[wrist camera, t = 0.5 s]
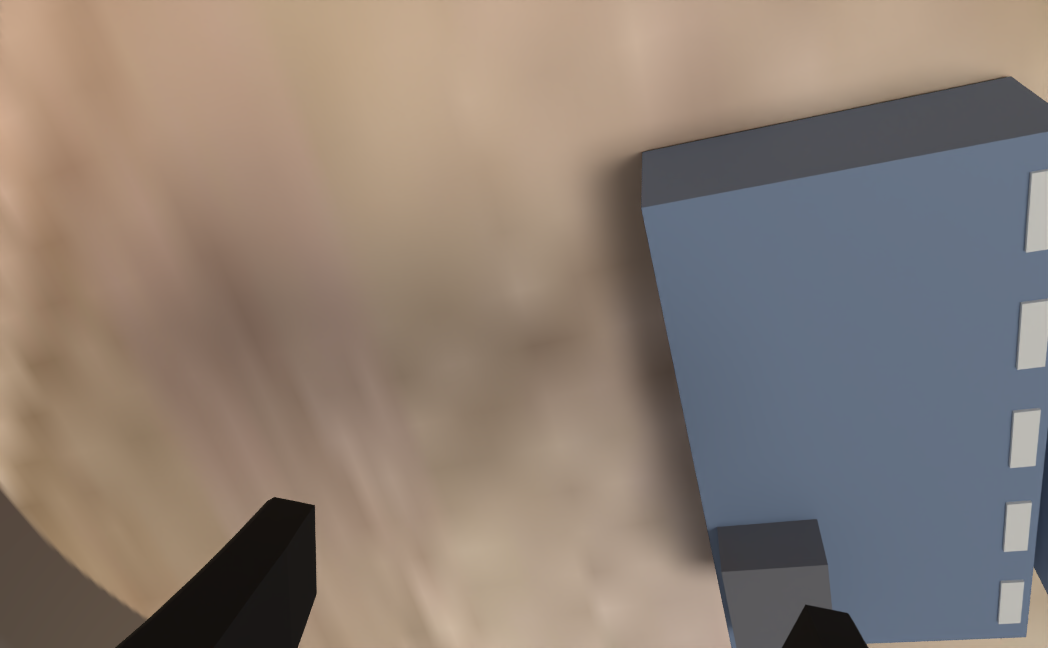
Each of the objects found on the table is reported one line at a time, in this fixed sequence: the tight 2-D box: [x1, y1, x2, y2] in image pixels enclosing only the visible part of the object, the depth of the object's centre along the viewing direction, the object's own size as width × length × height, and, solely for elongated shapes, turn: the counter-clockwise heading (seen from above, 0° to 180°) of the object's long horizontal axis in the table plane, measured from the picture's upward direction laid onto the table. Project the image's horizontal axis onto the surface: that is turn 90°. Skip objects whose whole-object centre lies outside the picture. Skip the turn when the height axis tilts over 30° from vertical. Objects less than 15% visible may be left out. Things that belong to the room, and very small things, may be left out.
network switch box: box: [641, 77, 1048, 648], centre depth 18 cm, size 14×8×4 cm, turn 15°
